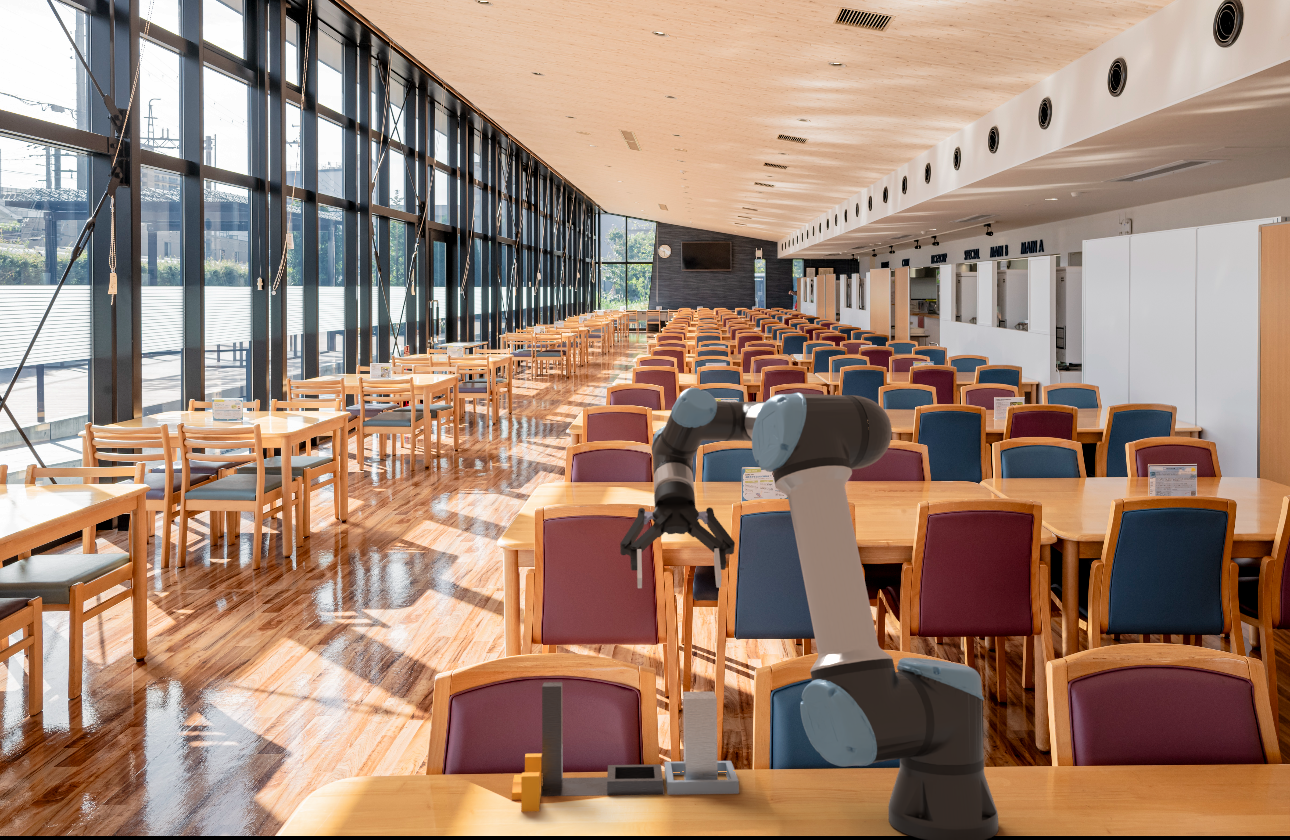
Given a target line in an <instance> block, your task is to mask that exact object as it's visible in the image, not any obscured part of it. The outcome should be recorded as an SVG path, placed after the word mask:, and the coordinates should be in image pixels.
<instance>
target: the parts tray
mask: <svg viewBox="0 0 1290 840" xmlns="http://www.w3.org/2000/svg"><path fill="white" fill-rule="evenodd" d="M717 770H718V771H727V772H718V773H726V774H725V776H726V779H718V780H684V779H677V780H676V779H674V775H675V776H676V775H677V776H681V775H682V776H684V772H682V771H684V760H683V761H664V778H665V779H664V780H665V786H666V791H667V795H669V796H670V795H723V794H725V795H727V794H728V795H730V794H736V795H738V794H740V785H739V784H740V783H739V782H740V781H739V777H738V776H737V774H736V771H733V770H735V767H734V765H733V763H732V760H717ZM673 772H680V773H673Z"/></svg>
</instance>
